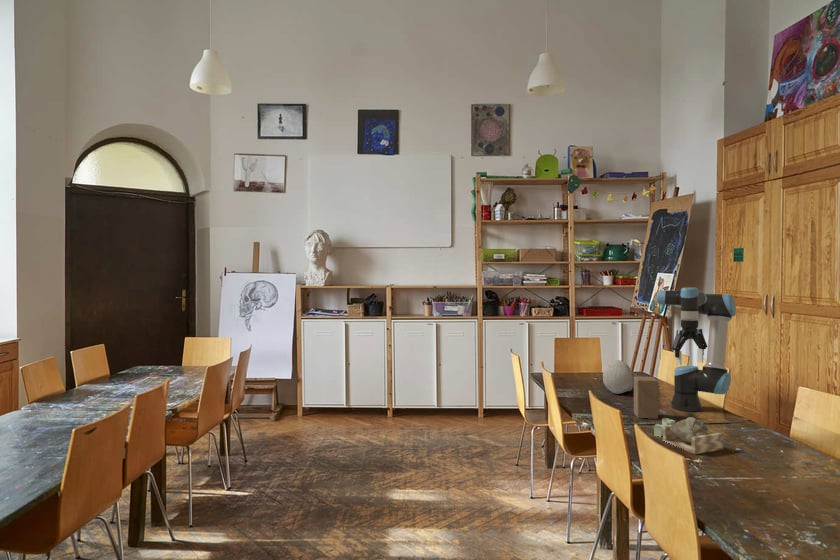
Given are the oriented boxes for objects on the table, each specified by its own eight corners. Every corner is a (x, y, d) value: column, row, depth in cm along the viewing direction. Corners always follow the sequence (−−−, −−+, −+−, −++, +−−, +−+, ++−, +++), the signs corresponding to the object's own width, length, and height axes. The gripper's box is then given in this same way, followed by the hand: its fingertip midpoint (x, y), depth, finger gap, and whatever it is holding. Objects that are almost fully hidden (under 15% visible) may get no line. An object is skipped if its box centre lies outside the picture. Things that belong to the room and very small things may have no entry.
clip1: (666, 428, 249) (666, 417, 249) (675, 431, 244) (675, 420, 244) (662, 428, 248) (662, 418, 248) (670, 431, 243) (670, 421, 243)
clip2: (656, 434, 240) (656, 423, 239) (667, 436, 236) (667, 425, 236) (654, 436, 237) (654, 425, 237) (665, 438, 234) (665, 427, 234)
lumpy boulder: (668, 426, 235) (706, 427, 229) (671, 448, 227) (710, 450, 221) (668, 412, 228) (706, 412, 222) (670, 435, 220) (710, 436, 214)
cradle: (689, 437, 235) (689, 422, 235) (723, 449, 219) (723, 433, 219) (662, 441, 230) (662, 426, 230) (694, 454, 214) (694, 438, 214)
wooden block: (658, 419, 263) (658, 380, 263) (637, 418, 265) (637, 380, 265) (653, 414, 273) (653, 376, 272) (633, 413, 275) (633, 376, 274)
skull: (637, 388, 330) (637, 357, 329) (629, 398, 307) (629, 364, 306) (610, 385, 339) (610, 355, 338) (600, 394, 316) (600, 362, 315)
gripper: (702, 317, 254) (702, 360, 255) (663, 320, 246) (663, 363, 246) (715, 319, 247) (715, 362, 248) (675, 321, 239) (675, 366, 239)
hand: (689, 363), depth 247 cm, fingers open, 13 cm apart
